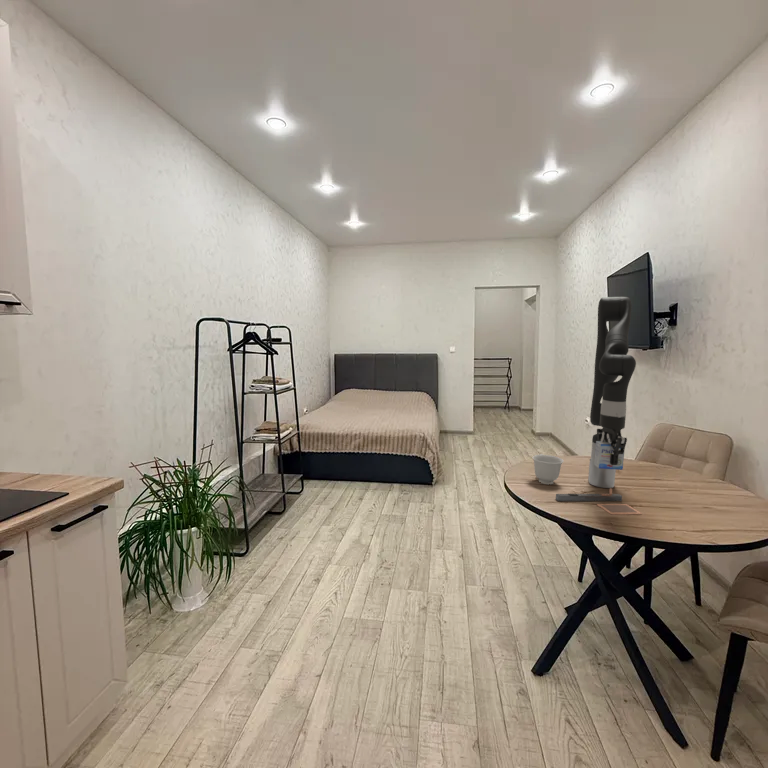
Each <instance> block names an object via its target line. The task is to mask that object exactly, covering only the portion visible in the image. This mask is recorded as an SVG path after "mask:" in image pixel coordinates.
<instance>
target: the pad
mask: <svg viewBox="0 0 768 768" xmlns="http://www.w3.org/2000/svg"><path fill="white" fill-rule="evenodd" d="M596 506H598V507H599V508H600V509H602V510H603V511H605V512H606V513H607V514H609V515H643V513H642V512H640V511H639V510H637V509H635V508H634V507H632V506H631V505H629V504H627V503H625V504H624V503H623V504H622V503H596Z"/></svg>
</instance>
